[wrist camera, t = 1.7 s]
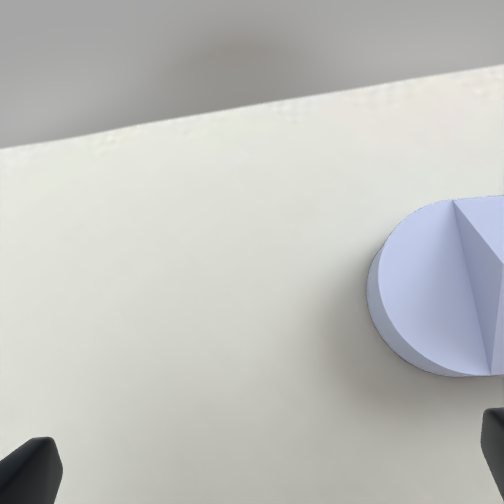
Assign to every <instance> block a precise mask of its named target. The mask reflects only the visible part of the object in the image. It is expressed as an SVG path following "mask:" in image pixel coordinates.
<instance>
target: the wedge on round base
mask: <svg viewBox="0 0 504 504" xmlns="http://www.w3.org/2000/svg"><path fill="white" fill-rule="evenodd" d="M366 296H367V303H368V308H369V312H370V315H371V318H372V320H373V322H374V325H375V327H376V329H377V330H378V332H379V334H380V335H381V337H382V338H383V339H384V341H385V342H386V343H387V344H388V346H389V347H390V348H391V349H392V350H393V351H394V352H395V353H397V354H398V355H399V356H400V357H402V358H403V359H404V360H406V361H407V362H409V363H411V364H412V365H414V366H416V367H418V368H420V369H422V370H425V371H427V372H430V373H434V374H438V375H443V376H450V377H467V376H489V375H504V195H499V196H487V197H475V198H464V199H452V200H445V201H439V202H436V203H432V204H429V205H427V206H424V207H422V208H420V209H418V210H416V211H415V212H413V213H411V214H410V215H408V216H407V217H406V218H405V219H404V220H402V221H401V222H400V223H399V224H398V225H397V227H396V228H395V229H394V230H393V231H392V233H391V234H390V236H389V237H388V239H387V240H386V241H385V243H384V244H383V246H382V247H381V249H380V250H379V252H378V253H377V255H376V256H375V258H374V260H373V262H372V264H371V267H370V270H369V273H368V278H367V285H366Z"/></svg>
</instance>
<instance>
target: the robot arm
mask: <svg viewBox="0 0 504 504" xmlns="http://www.w3.org/2000/svg"><path fill="white" fill-rule="evenodd" d="M481 448H482V451H483V454H484V457H485V459H486V461H487V464H488V466H489V468H490V470H491V473H492V475H493V477H494V480H495V482H496V484H497V487H498V489H499V491H500V494H501V496H502V498H503V501H504V408H490V409H486V410H485V411H484V414H483V422H482V432H481ZM62 474H63V467H62V463H61V459H60V456H59V453H58V450H57V447H56V444H55V441H54V440H53V438H51V437H37V438H32V439H30V440H28V441H27V442H26V443H24V444H23V445H22V446H20V447H19V448H17V449H16V450H15V451H13V452H12V453H11V454H9V455H8V456H7V457H5V458H4V459H2V460H1V461H0V504H54V501H55V498H56V495H57V492H58V489H59V486H60V482H61V479H62Z"/></svg>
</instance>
